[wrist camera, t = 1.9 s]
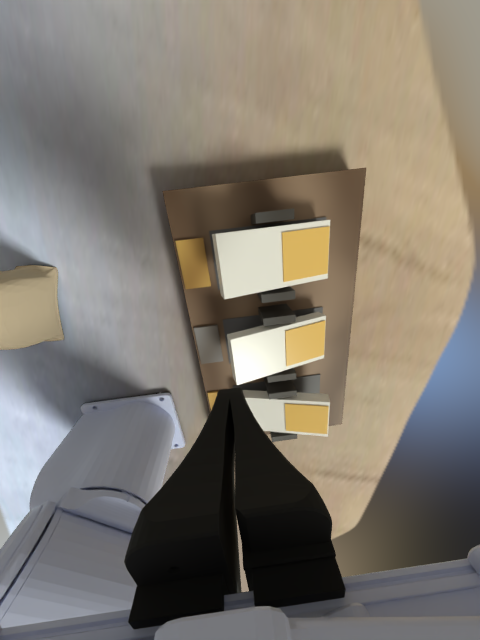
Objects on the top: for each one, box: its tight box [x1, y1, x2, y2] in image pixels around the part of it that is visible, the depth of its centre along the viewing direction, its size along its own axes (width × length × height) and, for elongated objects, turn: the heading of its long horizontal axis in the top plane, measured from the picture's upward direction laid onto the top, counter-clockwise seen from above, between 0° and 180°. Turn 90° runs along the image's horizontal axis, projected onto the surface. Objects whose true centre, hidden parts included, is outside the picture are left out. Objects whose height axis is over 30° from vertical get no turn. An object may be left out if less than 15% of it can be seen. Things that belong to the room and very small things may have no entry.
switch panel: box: [163, 168, 366, 442], centre depth 19 cm, size 14×24×5 cm, turn 6°
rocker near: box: [212, 220, 330, 299], centre depth 15 cm, size 8×4×1 cm, turn 96°
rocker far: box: [243, 390, 330, 437], centre depth 20 cm, size 8×4×1 cm, turn 96°
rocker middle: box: [227, 312, 326, 385], centre depth 18 cm, size 8×4×1 cm, turn 96°
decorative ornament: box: [0, 265, 64, 350], centre depth 16 cm, size 4×8×5 cm, turn 167°
